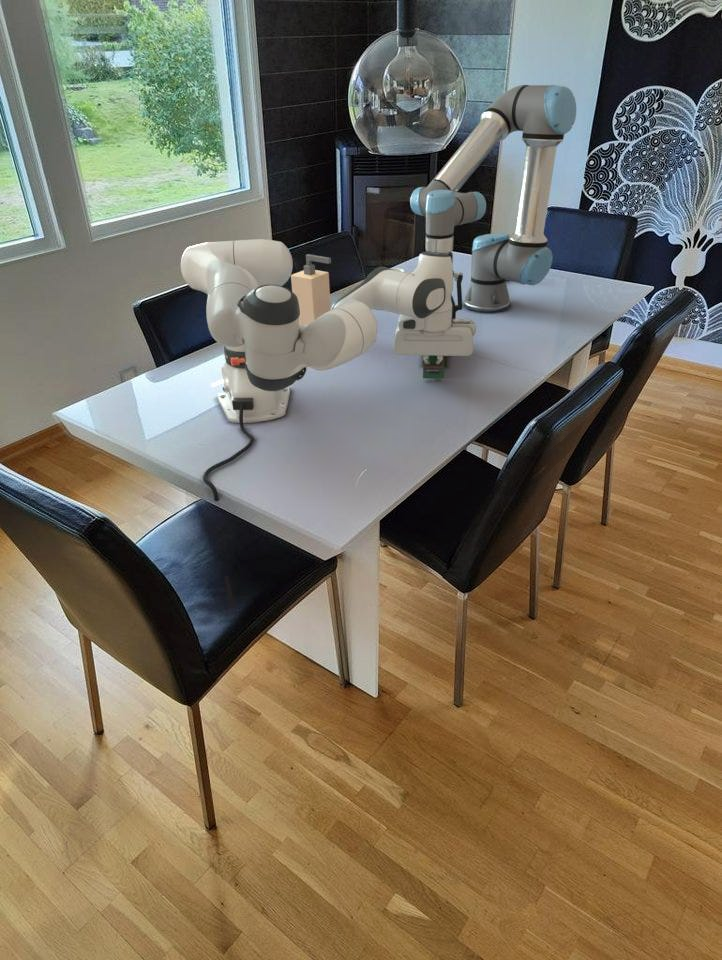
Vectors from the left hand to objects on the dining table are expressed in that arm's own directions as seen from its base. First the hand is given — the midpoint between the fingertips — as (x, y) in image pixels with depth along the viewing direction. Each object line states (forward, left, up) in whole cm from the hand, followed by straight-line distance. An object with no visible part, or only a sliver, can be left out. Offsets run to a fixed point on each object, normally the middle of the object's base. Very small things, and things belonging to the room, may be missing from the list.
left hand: (432, 370), depth 173 cm
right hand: (+25, -8, 0) cm, 27 cm away
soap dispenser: (+54, +23, -5) cm, 59 cm away
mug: (+76, -9, -5) cm, 77 cm away
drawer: (+9, -3, -4) cm, 10 cm away
